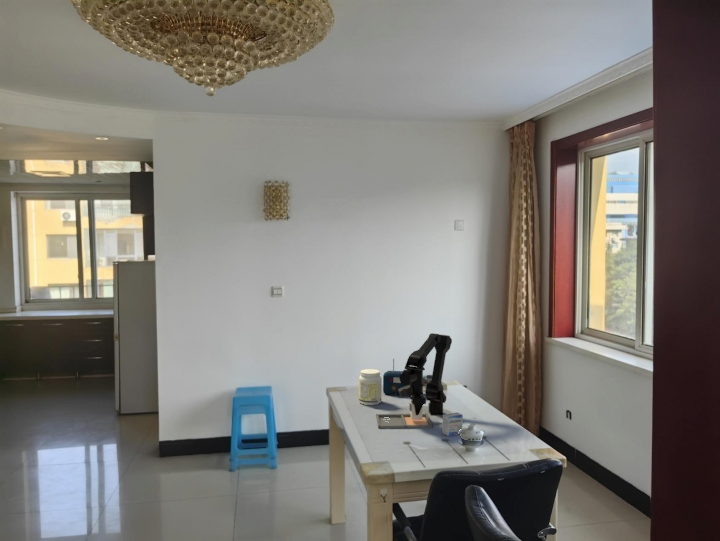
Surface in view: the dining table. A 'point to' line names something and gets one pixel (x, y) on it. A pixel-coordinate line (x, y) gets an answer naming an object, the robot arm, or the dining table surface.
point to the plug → (413, 414)
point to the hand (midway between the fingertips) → (416, 413)
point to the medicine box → (452, 423)
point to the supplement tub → (370, 387)
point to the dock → (402, 421)
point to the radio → (392, 382)
